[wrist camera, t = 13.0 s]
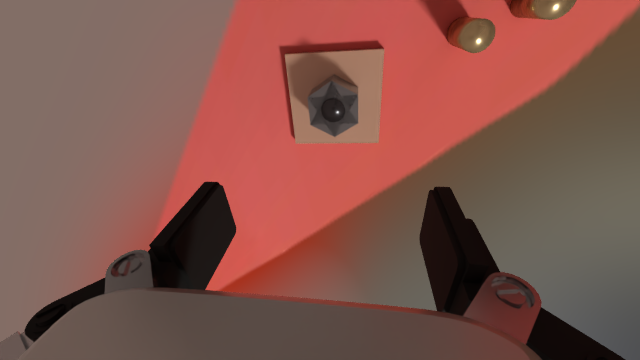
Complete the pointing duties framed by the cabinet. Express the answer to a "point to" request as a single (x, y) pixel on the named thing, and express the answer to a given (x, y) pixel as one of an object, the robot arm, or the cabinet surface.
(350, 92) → the steel nut
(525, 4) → the brass standoffs
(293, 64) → the tan tile
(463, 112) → the cabinet surface
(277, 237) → the cabinet surface
